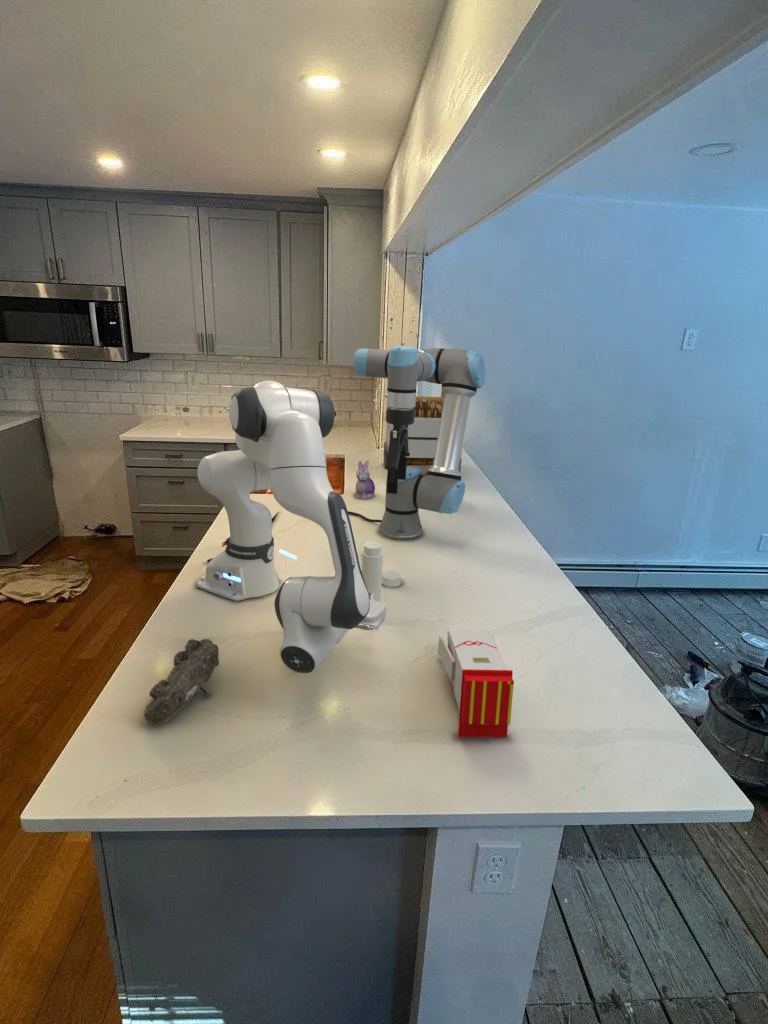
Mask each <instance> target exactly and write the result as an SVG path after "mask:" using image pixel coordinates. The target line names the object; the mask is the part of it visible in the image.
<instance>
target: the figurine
mask: <svg viewBox="0 0 768 1024" xmlns="http://www.w3.org/2000/svg"><path fill="white" fill-rule="evenodd" d="M369 465H370V461H369V460H366V461H365V462H364V464H363V463H362V461H361V460H358V462H357V468H358V470H357V472H356V478H357V481H356V483H355V493H354V494H355V498H357V499H363V500H364V499H370V498H373V497H374V496H375V492H376V486H375V482H374V480H373V479H372V478H371V477H370V476H371V474H370V471H369V469H368V468H369Z"/></svg>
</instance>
